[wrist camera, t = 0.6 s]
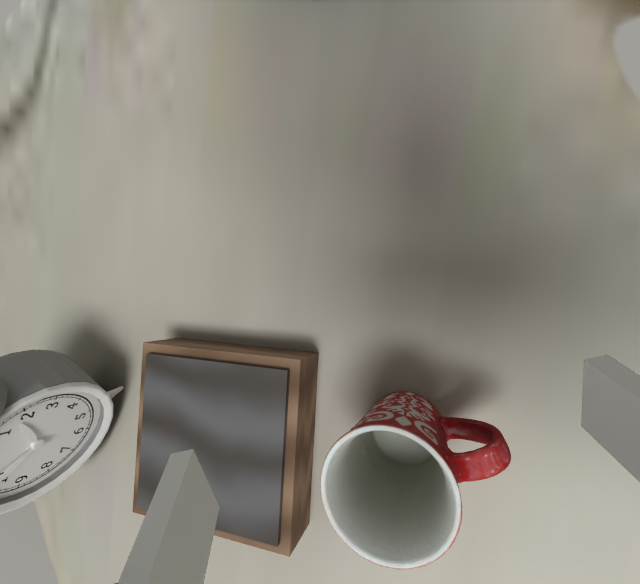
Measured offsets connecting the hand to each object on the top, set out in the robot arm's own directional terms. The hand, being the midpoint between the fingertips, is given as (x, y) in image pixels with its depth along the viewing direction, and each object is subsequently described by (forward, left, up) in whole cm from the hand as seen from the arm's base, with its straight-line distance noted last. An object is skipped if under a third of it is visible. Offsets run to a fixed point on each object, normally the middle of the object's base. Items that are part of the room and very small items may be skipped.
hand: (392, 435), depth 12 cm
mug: (+7, 0, -25) cm, 26 cm away
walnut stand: (+10, -20, -25) cm, 33 cm away
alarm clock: (+11, -41, -25) cm, 49 cm away
